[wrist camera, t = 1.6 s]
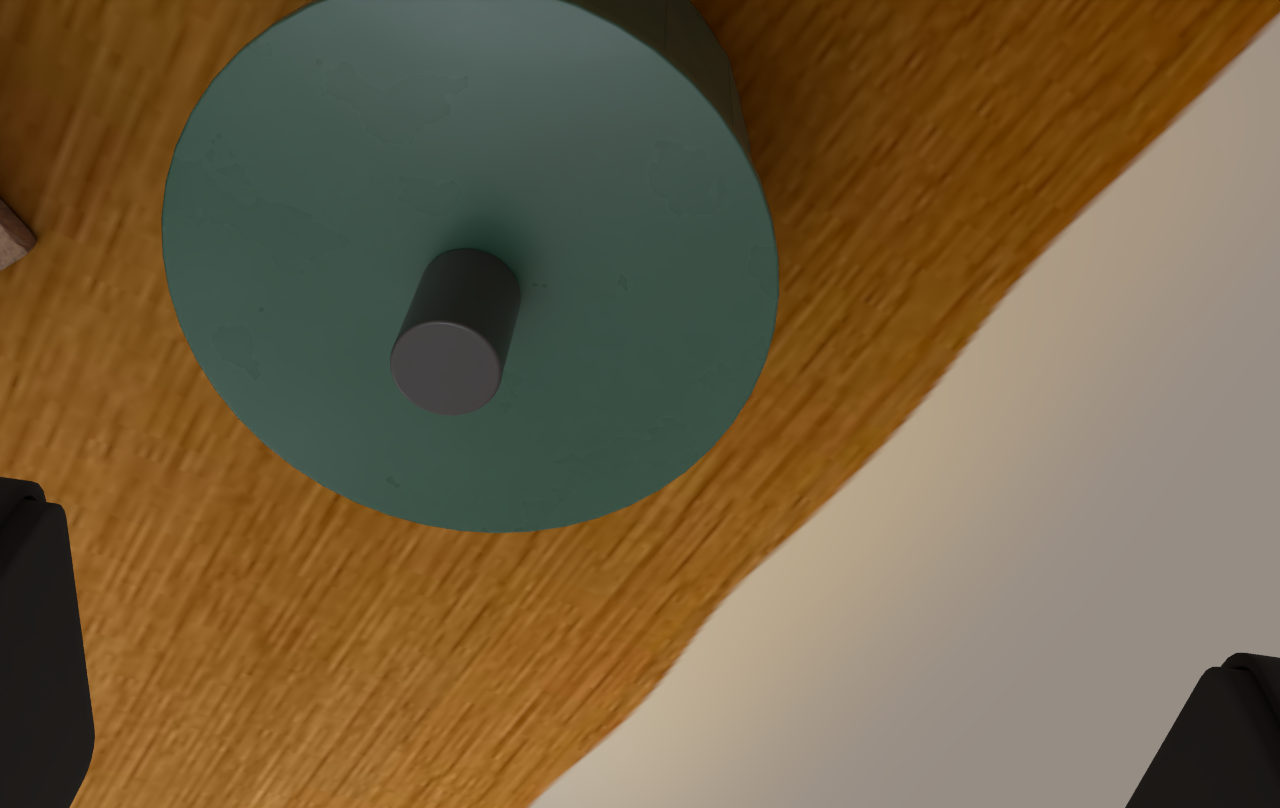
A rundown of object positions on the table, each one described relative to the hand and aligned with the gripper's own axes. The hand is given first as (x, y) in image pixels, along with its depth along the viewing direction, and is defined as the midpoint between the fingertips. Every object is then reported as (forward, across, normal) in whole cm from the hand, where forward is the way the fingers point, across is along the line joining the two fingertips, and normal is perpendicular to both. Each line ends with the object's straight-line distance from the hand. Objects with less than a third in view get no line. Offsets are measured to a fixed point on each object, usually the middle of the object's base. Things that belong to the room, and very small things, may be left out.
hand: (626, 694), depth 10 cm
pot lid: (+19, +4, +7) cm, 20 cm away
